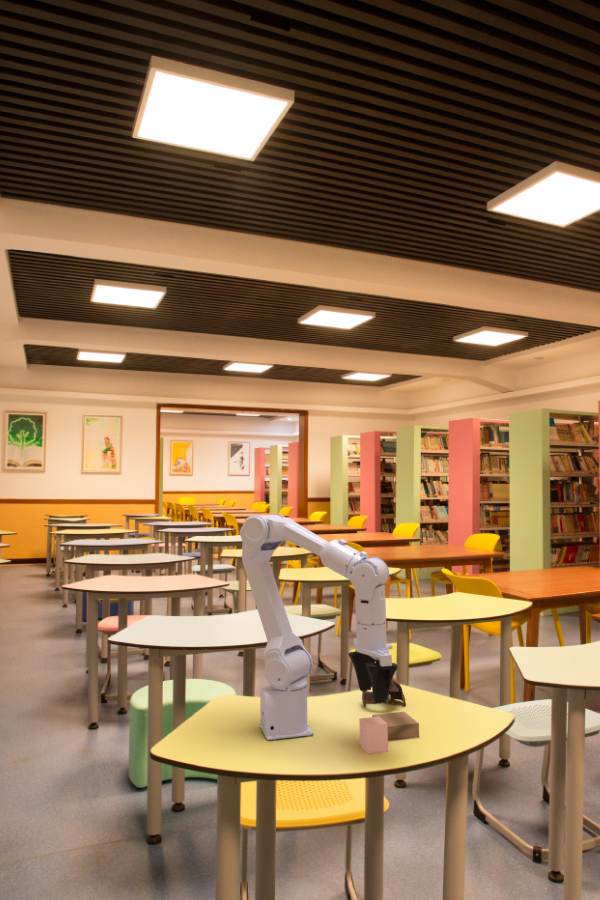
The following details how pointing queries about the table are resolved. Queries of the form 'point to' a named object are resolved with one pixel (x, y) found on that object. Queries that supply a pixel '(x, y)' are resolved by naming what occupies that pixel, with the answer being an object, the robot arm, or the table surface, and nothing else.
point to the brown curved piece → (394, 693)
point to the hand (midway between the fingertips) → (372, 696)
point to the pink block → (373, 735)
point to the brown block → (400, 726)
